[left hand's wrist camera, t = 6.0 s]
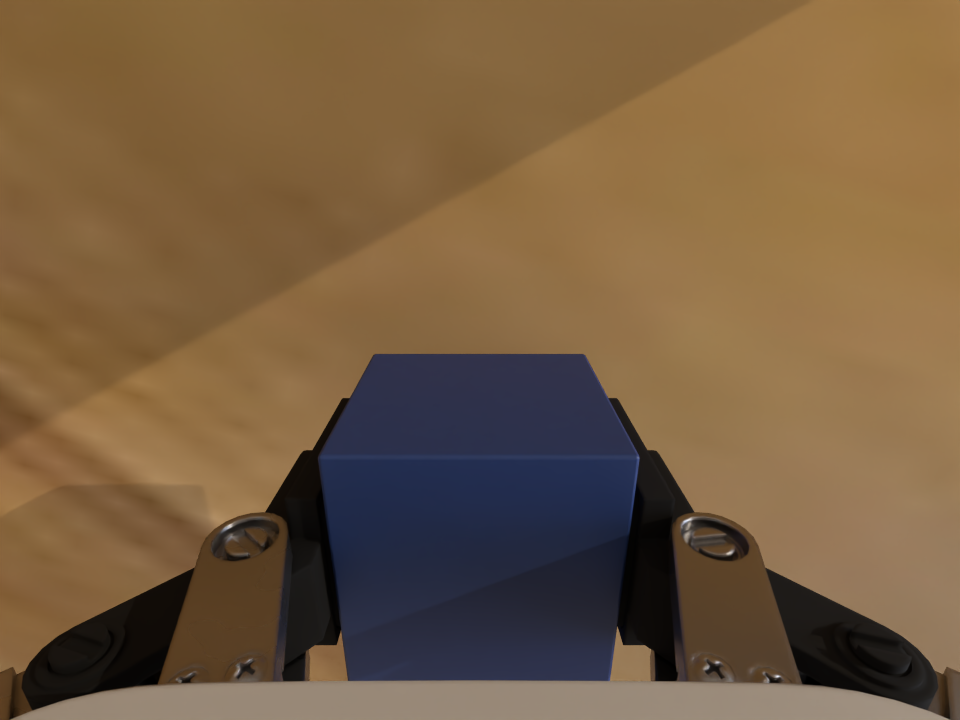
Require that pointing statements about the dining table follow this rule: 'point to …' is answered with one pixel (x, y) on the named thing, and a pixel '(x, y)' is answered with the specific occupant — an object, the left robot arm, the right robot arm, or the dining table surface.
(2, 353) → the dining table surface
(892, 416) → the dining table surface
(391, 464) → the block
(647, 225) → the dining table surface
